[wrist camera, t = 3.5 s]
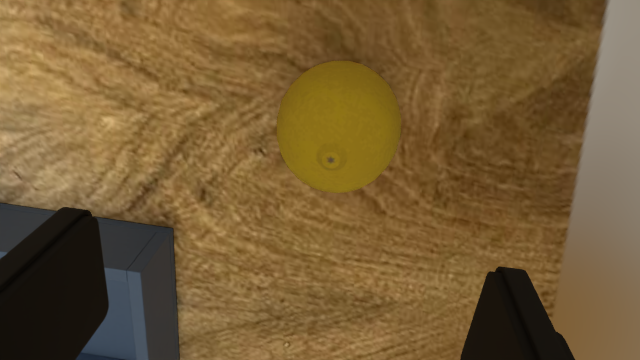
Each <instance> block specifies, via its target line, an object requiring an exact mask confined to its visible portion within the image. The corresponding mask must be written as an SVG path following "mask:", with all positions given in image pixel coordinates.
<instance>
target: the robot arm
mask: <svg viewBox="0 0 640 360" xmlns="http://www.w3.org/2000/svg"><path fill="white" fill-rule="evenodd" d="M108 309H109V300H108V292H107V284H106V277H105V269H104V261H103V254H102V246H101V238H100V231H99V223H98V220H97V218H95V217H92V214H91V212H90V211H88V210H83V209H76V208H68V207H63V208H61V209H59V210H58V211H57V212H56V213H55V214H53V215H52V216H51V217H50V218H49V219H47V220H46V221H45V222H44V223H43V224H41V225H40V226H39V227H38V228H37V229H35V230H34V231H33V232H32V233H31V234H29V235H28V236H27V237H26V238H25V239H23V240H22V241H21V242H20V243H19V244H18V245H16V246H15V247H14V248H13V249H12V250H10V251H9V252H8V253H7V254H6V255H4V256H3V257H2V258H1V259H0V360H76V358H77V357H78V355H79V354H80V353H81V351H82V350H83V348H84V347H85V346H86V344H87V343H88V342H89V340H90V339H91V337H92V336H93V335H94V333H95V332H96V330H97V329H98V328H99V326H100V325H101V323H102V322H103V321H104V319H105V317H106V315H107V313H108ZM461 360H575V359H574V357H573V355H572V353H571V351H570V349H569V347H568V345H567V343H566V341H565V339H564V338H563V336H562V335H561V334H559V333H558V332H556V331H555V329H554V327H553V325H552V323H551V321H550V319H549V317H548V315H547V313H546V311H545V309H544V307H543V305H542V303H541V301H540V299H539V297H538V294H537V292H536V290H535V288H534V286H533V284H532V282H531V280H530V278H529V276H528V274H527V272H526V271H525V270H522V269H515V268H507V267H498V268H497V269H496V271H495V272H491V271H490V272H488V274H487V276H486V279H485V282H484V285H483V288H482V292H481V295H480V298H479V301H478V304H477V307H476V310H475V313H474V316H473V320H472V323H471V326H470V329H469V332H468V335H467V338H466V341H465V344H464V348H463V351H462V354H461Z"/></svg>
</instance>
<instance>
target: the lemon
mask: <svg viewBox="0 0 640 360" xmlns="http://www.w3.org/2000/svg"><path fill="white" fill-rule="evenodd" d="M400 135H401V113H400V110H399V106H398V102H397V99H396V97H395V95H394V93H393V92H392V90H391V88H390V87H389V85H388V83H387V82H386V81H385V80H384V79H383V78H382V77H380V76H379V75H378V74H377V73H376V72H375V71H373V70H371V69H370V68H368V67H366V66H364V65H362V64H359V63H355V62H351V61H330V62H326V63H322V64H318V65H316V66H314V67H313V68H311V69H309V70H307V71H306V72H304V73H303V74H302V75H301V76H300V77H299V78H297V79H296V80H295V81H294V82H293V83H292V84H291V86H290V87H289V89H288V91H287V92H286V94H285V96H284V97H283V99H282V101H281V105H280V109H279V112H278V116H277V141H278V144H279V148H280V152H281V155H282V157H283V159H284V161H285V163H286V164H287V166H288V168H289V169H290V170H291V171H292V172H293V173H294V174H295V176H296V177H297V178H298V179H300V180H301V181H303V182H304V183H305V184H307V185H308V186H310V187H313V188H315V189H318V190H321V191H325V192H332V193H341V192H350V191H353V190H356V189H359V188H362V187H364V186H365V185H367V184H369V183H370V182H372V181H374V180H375V179H376V178H377V177H378V176H379V175H380V174H381V173H382V172H383V171H384V170H385V169H386V168H387V166H388V165H389V163H390V161H391V159H392V158H393V156H394V154H395V152H396V150H397V146H398V142H399V139H400Z"/></svg>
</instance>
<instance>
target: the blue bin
mask: <svg viewBox="0 0 640 360" xmlns="http://www.w3.org/2000/svg"><path fill="white" fill-rule="evenodd" d="M56 212H57V211H51V210H44V209H37V208H31V207H24V206H17V205H10V204H3V203H0V259H1V258H2V257H3V256H4V255H6V254H7V253H8V252H9V251H10V250H12V249H13V248H14V247H15V246H16V245H18V244H19V243H20V242H21V241H22V240H23V239H25V238H26V237H27V236H28V235H29V234H31V233H32V232H33V231H34V230H35V229H37V228H38V227H39V226H40V225H41V224H43V223H44V222H45V221H46V220H47V219H49V218H50V217H51V216H52V215H53V214H55V213H56ZM95 218H97V220H98V223H99V231H100V238H101V246H102V254H103V261H104V269H105V277H106V284H107V292H108V300H109V309H108V313H107V315H106V317H105V319H104V321H103V322H102V323H101V325H100V326H99V328H98V329H97V330H96V332H95V333H94V335H93V336H92V337H91V339H90V340H89V342H88V343H87V344H86V346H85V347H84V348H83V350H82V351H81V353H80V354H79V355H78V357H77V358H76V360H179V341H178V321H177V302H176V282H175V262H174V243H173V229H172V228H166V227H160V226H153V225H146V224H139V223H132V222H126V221H119V220H112V219H105V218H98V217H95Z"/></svg>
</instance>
